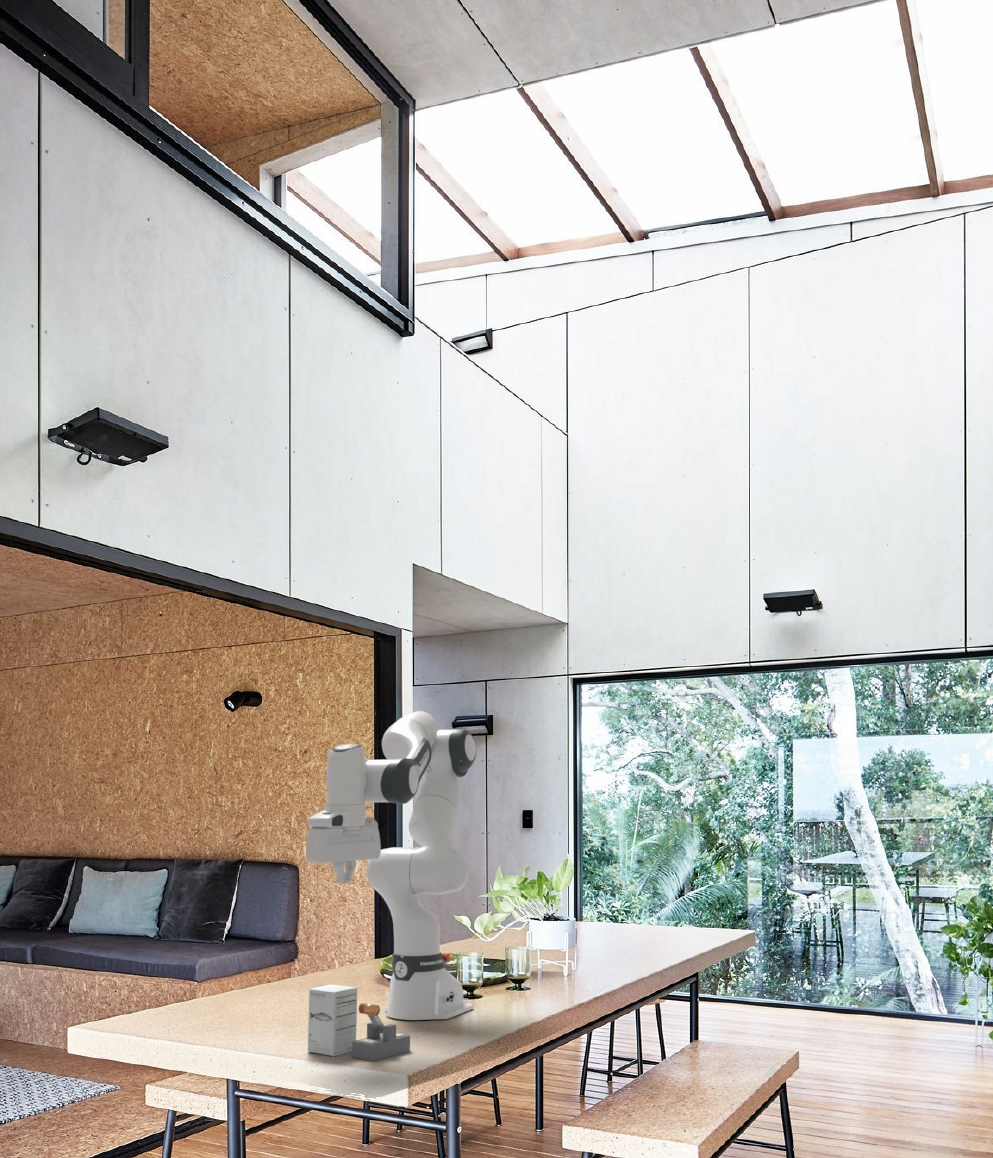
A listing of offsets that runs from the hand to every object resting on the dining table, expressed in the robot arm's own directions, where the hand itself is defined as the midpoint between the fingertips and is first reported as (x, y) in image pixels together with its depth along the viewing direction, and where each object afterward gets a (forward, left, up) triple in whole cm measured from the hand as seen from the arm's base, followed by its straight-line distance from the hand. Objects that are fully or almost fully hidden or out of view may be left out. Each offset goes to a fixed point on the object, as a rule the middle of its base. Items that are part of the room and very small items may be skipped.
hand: (344, 882), depth 250 cm
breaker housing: (+3, +14, -33) cm, 36 cm away
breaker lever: (+3, +14, -28) cm, 32 cm away
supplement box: (+7, +4, -33) cm, 34 cm away
